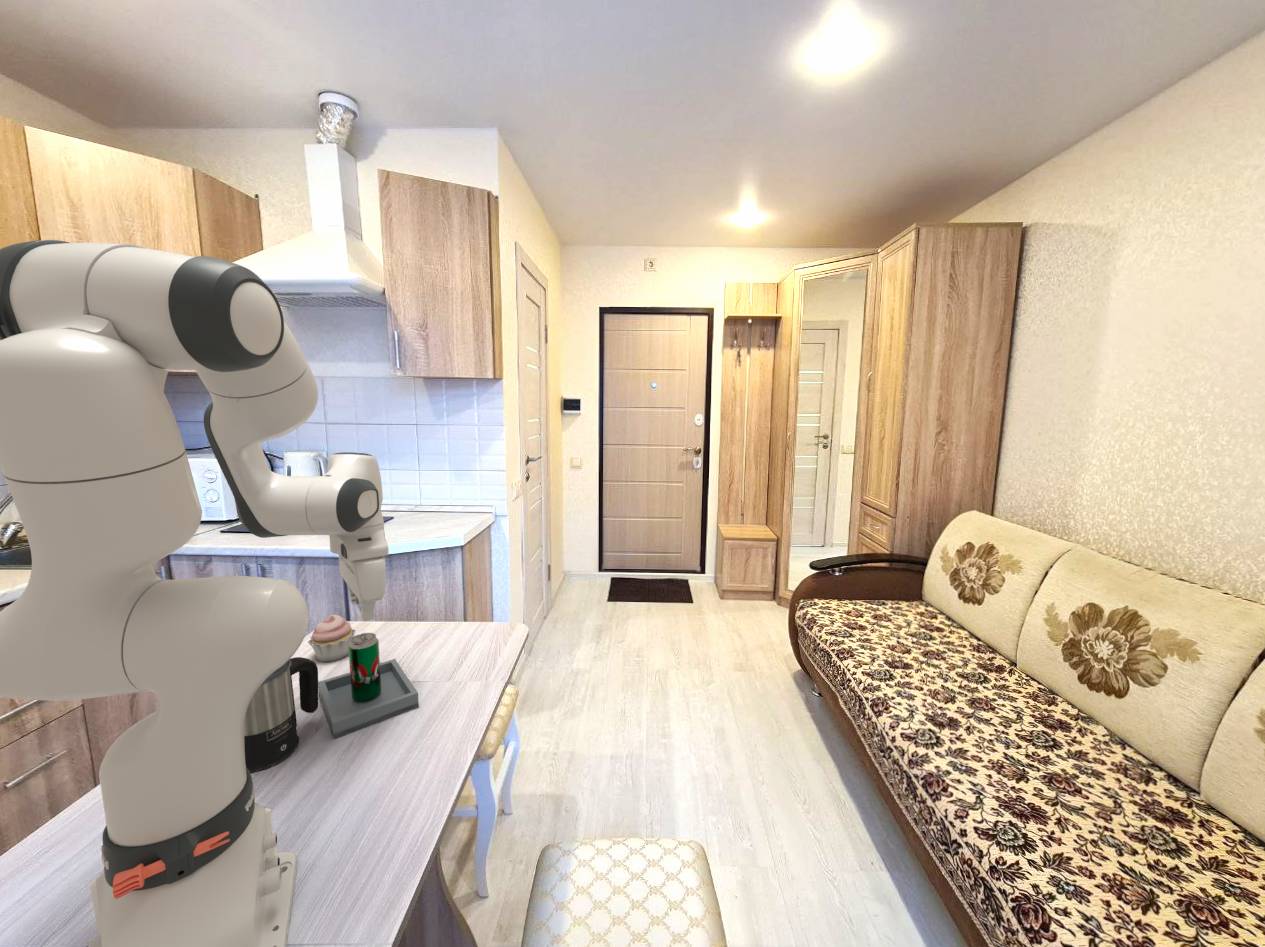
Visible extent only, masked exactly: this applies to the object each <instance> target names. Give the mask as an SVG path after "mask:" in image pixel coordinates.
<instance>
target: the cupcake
mask: <svg viewBox="0 0 1265 947" xmlns="http://www.w3.org/2000/svg"><path fill="white" fill-rule="evenodd" d="M356 631H357V630H356V629H352V626H351V624H350V622H349V621H348V620H345V618H343V617H342V616H341V615H338V614H329V615H328V616H326V617H325V618H324V620H323V621H320V622H318V623H317V624H316V625H315V627H314V630H313V632H312V634H311V636H310V637H309V639H308V641H307V644H309V645H310V647H311V648H312V649H313V651H314V653H315V656H316V658H317V660H318V661H320V662H322V663H329V662H334V661H339V660H341V659H343V658H345V657H347V656H349V649H348V645H349V644H350V640H351V638H352V637H354V636H356V635H355V634H356Z"/></svg>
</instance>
